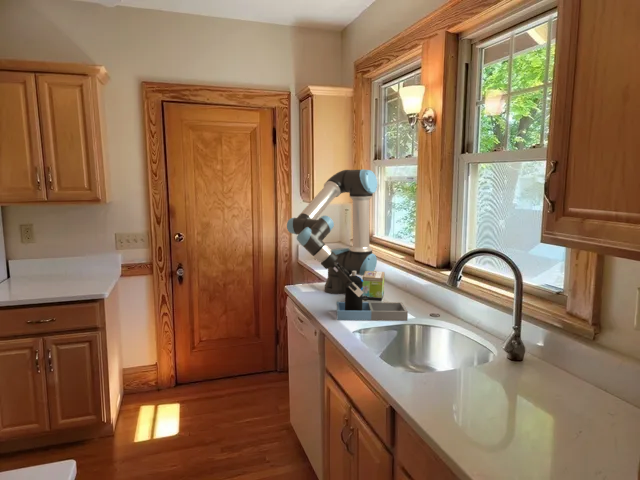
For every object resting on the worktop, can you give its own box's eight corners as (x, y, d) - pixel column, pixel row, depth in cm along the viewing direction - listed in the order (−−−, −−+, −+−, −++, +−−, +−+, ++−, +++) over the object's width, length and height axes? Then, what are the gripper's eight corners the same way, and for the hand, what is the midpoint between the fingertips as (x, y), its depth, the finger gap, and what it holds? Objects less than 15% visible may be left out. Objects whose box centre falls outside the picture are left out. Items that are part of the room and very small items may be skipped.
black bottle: (347, 318, 188) (348, 273, 185) (341, 313, 196) (342, 269, 193) (365, 317, 190) (366, 272, 188) (358, 311, 198) (359, 268, 195)
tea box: (382, 308, 204) (383, 277, 202) (361, 307, 206) (361, 276, 204) (384, 299, 218) (384, 271, 216) (364, 298, 220) (364, 270, 218)
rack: (336, 310, 200) (336, 302, 200) (401, 310, 200) (402, 302, 199) (337, 320, 186) (337, 311, 186) (407, 320, 186) (407, 311, 185)
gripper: (320, 257, 202) (352, 289, 204) (319, 268, 178) (355, 304, 180) (331, 246, 202) (363, 278, 203) (332, 256, 177) (368, 292, 179)
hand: (360, 290), depth 191 cm, fingers open, 13 cm apart
